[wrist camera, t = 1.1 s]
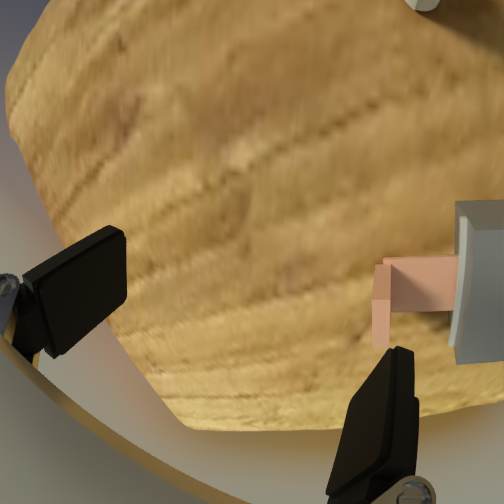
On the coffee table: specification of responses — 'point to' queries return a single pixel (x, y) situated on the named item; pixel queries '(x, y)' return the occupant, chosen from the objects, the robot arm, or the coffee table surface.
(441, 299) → the pink l-shaped bracket
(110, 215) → the coffee table surface
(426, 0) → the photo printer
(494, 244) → the block
